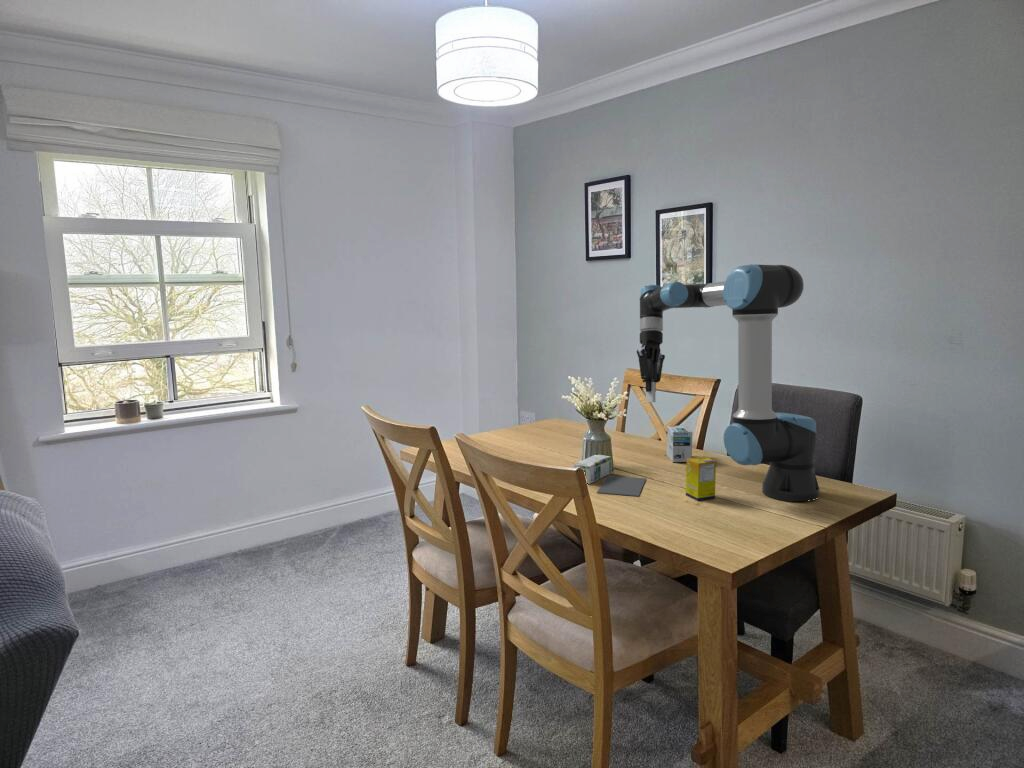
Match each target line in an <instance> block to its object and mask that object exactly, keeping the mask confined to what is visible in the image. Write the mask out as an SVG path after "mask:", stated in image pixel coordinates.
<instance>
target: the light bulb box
mask: <svg viewBox="0 0 1024 768" xmlns="http://www.w3.org/2000/svg"><path fill="white" fill-rule="evenodd" d="M666 457H668V459H669V458H670V459H669V460H670V461H671V463H673V462H687V458H693V431H692V430H690V429H689V428H688V427H687V426H686V425H666Z"/></svg>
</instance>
